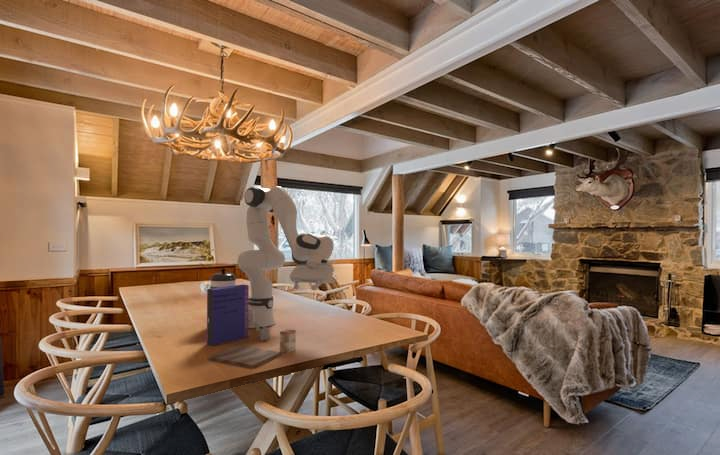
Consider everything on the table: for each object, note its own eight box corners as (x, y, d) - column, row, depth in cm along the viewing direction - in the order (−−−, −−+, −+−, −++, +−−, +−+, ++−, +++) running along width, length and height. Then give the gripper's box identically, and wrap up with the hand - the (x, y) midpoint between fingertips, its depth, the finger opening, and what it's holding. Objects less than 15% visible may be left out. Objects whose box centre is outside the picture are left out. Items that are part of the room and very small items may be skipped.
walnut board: (207, 359, 140) (207, 356, 140) (237, 347, 155) (237, 344, 155) (253, 368, 131) (253, 365, 131) (280, 355, 146) (280, 351, 146)
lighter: (269, 338, 169) (269, 320, 169) (269, 339, 167) (269, 321, 167) (253, 339, 167) (253, 321, 167) (253, 340, 166) (253, 322, 166)
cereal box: (242, 335, 173) (242, 284, 173) (248, 337, 170) (248, 285, 170) (206, 344, 160) (207, 288, 160) (212, 346, 157) (212, 289, 157)
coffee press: (199, 329, 184) (199, 269, 185) (220, 322, 200) (220, 266, 200) (228, 332, 179) (229, 270, 180) (247, 324, 195) (248, 267, 195)
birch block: (279, 351, 151) (280, 331, 151) (286, 348, 155) (286, 328, 155) (289, 352, 149) (289, 332, 149) (295, 349, 153) (295, 330, 153)
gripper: (294, 260, 174) (281, 283, 165) (332, 261, 166) (321, 285, 157) (299, 268, 178) (287, 292, 169) (337, 270, 170) (326, 294, 161)
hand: (304, 289), depth 163 cm, fingers open, 8 cm apart
